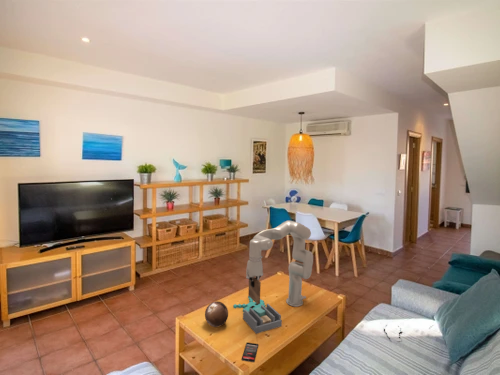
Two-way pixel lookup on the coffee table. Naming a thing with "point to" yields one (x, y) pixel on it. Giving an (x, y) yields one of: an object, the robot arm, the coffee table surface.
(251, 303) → the alien figure
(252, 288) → the brown block
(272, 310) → the rack
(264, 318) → the offcut beech
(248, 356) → the smartphone
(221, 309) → the wooden sphere
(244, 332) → the coffee table surface
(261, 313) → the offcut teal
